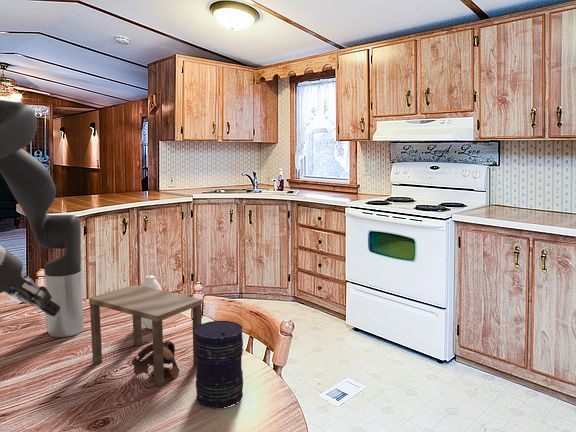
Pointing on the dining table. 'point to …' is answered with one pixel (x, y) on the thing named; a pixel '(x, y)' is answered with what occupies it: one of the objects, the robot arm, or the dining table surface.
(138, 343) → the wooden side table
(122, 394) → the dining table surface
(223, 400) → the dark blue cylinder
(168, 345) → the pottery mug
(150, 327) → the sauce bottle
